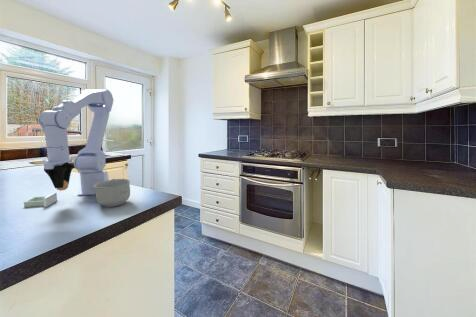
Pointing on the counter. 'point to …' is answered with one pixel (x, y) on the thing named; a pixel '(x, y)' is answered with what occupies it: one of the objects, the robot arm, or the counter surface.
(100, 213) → the counter surface
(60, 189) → the ball
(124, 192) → the teacup
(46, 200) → the wall
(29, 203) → the tray
